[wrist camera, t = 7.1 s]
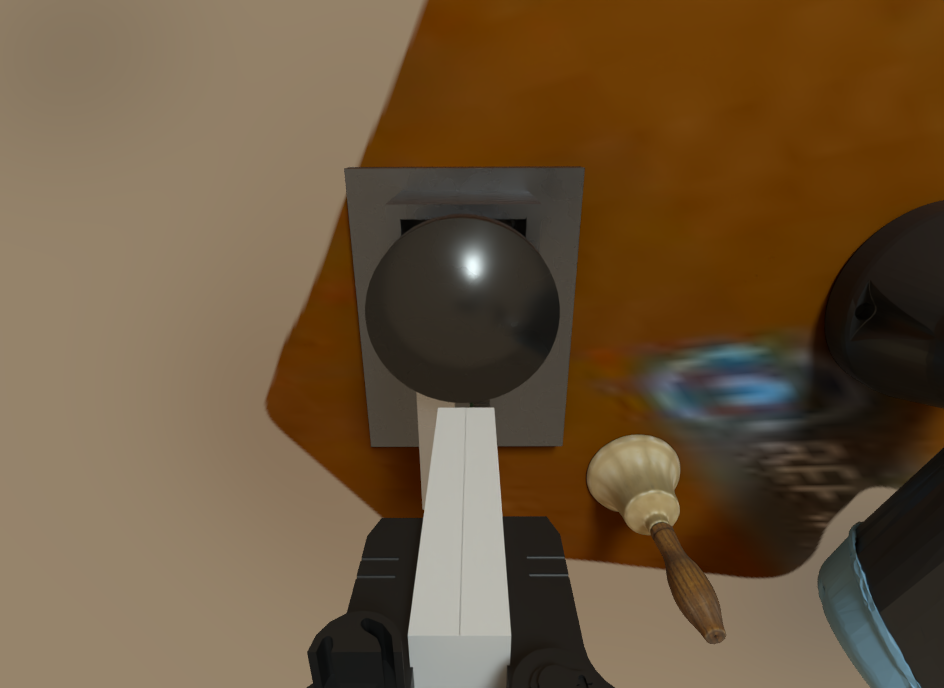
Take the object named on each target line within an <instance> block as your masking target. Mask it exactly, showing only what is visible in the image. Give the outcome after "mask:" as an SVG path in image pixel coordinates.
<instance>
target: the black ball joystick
mask: <svg viewBox="0 0 944 688" xmlns="http://www.w3.org/2000/svg"><path fill="white" fill-rule="evenodd" d="M365 320H366V326H367V331H368V335H369V338H370V341H371V344H372V346H373V348H374V350H375V352H376V354H377V356H378V357H379V359H380V360H381V362H382V363H383V364H384V366H385V367H386V368H387V369H388V371H389V372H390V373H391V374H392V375H393V376H395V377H396V378H397V379H398V380H399V381H400V382H402V383H403V384H404V385H406V386H407V387H409V388H410V389H412V390H414V391H416V394H417V413H418V432H419V451H420V470H421V489H422V508H423V510H425V502H426V495H427V487H428V480H429V472H430V465H431V457H432V450H433V442H434V435H435V427H436V420H437V412H438V408H455V403H473V402H480V401H486V400H490V399H493V398H496V397H499V396H501V395H504V394H506V393H508V392H510V391H512V390H514V389H515V388H517V387H519V386H520V385H521V384H523V383H524V382H525V381H527V380H528V379H529V378H530V377H531V376H532V375H533V374H534V373H535V372H536V371H537V370H538V369H539V368H540V366H541V365H542V364H543V363H544V361H545V360H546V358H547V356H548V355H549V353H550V351H551V349H552V346H553V344H554V342H555V339H556V335H557V332H558V327H559V320H560V303H559V296H558V291H557V288H556V284H555V281H554V279H553V277H552V274H551V272H550V270H549V268H548V266H547V265H546V263H545V261H544V260H543V258H542V257H541V255H540V253H539V252H538V251H537V249H536V248H535V247H534V246H533V245H532V243H531V242H530V241H529V240H527V239H526V238H525V237H524V236H523V235H522V234H521V233H519V232H518V231H516V230H515V229H513V228H512V227H510V226H508V225H506V224H504V223H502V222H500V221H498V220H495V219H492V218H489V217H485V216H480V215H475V214H450V215H445V216H440V217H436V218H433V219H430V220H427V221H424V222H422V223H420V224H419V225H417V226H415V227H413V228H411V229H410V230H409V231H407V232H406V233H404V234H403V235H402V236H401V237H400V238H399V239H398V240H396V241H395V242H394V243H393V245H392V246H391V247H390V248H389V250H388V251H387V252H386V253H385V255H384V256H383V258H382V259H381V261H380V262H379V264H378V266H377V267H376V269H375V271H374V273H373V275H372V278H371V280H370V282H369V286H368V290H367V294H366V302H365Z"/></svg>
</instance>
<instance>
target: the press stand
mask: <svg viewBox="0 0 944 688" xmlns="http://www.w3.org/2000/svg"><path fill="white" fill-rule="evenodd" d="M584 170H585V168H583V167H349V168H345V169H344V172H345V182H346V192H347V203H348V213H349V223H350V233H351V244H352V254H353V264H354V275H355V285H356V295H357V305H358V316H359V326H360V336H361V347H362V357H363V367H364V377H365V388H366V398H367V408H368V419H369V429H370V439H371V447H419V432H418V413H417V394H416V391H414V390H412V389H410V388H409V387H407V386H406V385H404V384H403V383H402V382H400V381H399V380H398V379H397V378H396V377H395V376H393V375H392V374H391V373H390V372H389V371H388V369H387V368H386V367H385V366H384V364H383V363H382V362H381V360H380V359H379V357H378V356H377V354H376V352H375V350H374V348H373V346H372V344H371V341H370V338H369V335H368V331H367V326H366V320H365V302H366V294H367V290H368V286H369V282H370V280H371V278H372V275H373V273H374V271H375V269H376V267H377V266H378V264H379V262H380V261H381V259H382V258H383V256H384V255H385V253H386V252H387V251H388V250H389V248H390V247H391V246H392V245H393V243H394V242H395V241H396V240H398V239H399V238H400V237H401V236H402V235H403V234H404V233H406V232H407V231H409V230H410V229H411V228H413V227H415V226H417V225H419V224H420V223H422V222H424V221H427V220H430V219H433V218H436V217H440V216H445V215H450V214H475V215H480V216H485V217H489V218H492V219H495V220H498V221H500V222H502V223H504V224H506V225H508V226H510V227H512V228H513V229H515V230H516V231H518V232H519V233H521V234H522V235H523V236H524V237H525V238H526V239H527V240H529V241H530V242H531V243H532V245H533V246H534V247H535V248H536V249H537V251H538V252H539V253H540V255H541V257H542V258H543V260H544V261H545V263H546V265H547V266H548V268H549V270H550V272H551V274H552V277H553V279H554V281H555V284H556V288H557V291H558V296H559V303H560V320H559V327H558V332H557V335H556V339H555V342H554V344H553V346H552V349H551V351H550V353H549V355H548V356H547V358H546V360H545V361H544V363H543V364H542V365H541V366H540V368H539V369H538V370H537V371H536V372H535V373H534V374H533V375H532V376H531V377H530V378H529V379H528V380H527V381H525V382H524V383H523V384H521V385H520V386H519V387H517V388H515V389H514V390H512V391H510V392H508V393H506V394H504V395H501V396H499V397H496V398H493V399H490V400H486V401H480V402H473V403H455V408H494V411H495V425H496V438H497V446H562V444H563V431H564V419H565V406H566V394H567V382H568V369H569V357H570V344H571V332H572V319H573V307H574V294H575V282H576V269H577V257H578V245H579V232H580V220H581V207H582V195H583V182H584Z"/></svg>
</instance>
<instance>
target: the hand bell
mask: <svg viewBox="0 0 944 688" xmlns="http://www.w3.org/2000/svg"><path fill="white" fill-rule="evenodd" d="M679 476H680V462H679V459H678V456H677V454H676V453H675V451H674V450H673V449H672V448H671V446H670V445H668V444H667V443H666V442H664V441H663V440H661V439H659V438H656V437H653V436H649V435H629V436H624V437H621V438H618V439H616V440H613V441H612V442H610V443H608V444H607V445H605V446H604V447H603V448H601V449H600V450H599V451H598V452H597V453H596V455H595V456H594V457H593V459H592V460H591V462H590V464H589V467H588V471H587V485H588V488H589V491H590V492H591V494H592V496H593V497H594V498H595V499H596V500H597V501H598V502H599V503H600V504H602V505H603V506H605V507H607V508H609V509H611V510H614V511H617V512H619V513H620V514H621V516H622V517H623V519H624V520H625V522H626V524H627V525H628V526H629V527H630V528H631V529H632V530H633V531H635V532H637V533H640V534H643V535H651V536H652V538H653V540H654V541H655V543H656V545H657V547H658V549H659V550H660V552H661V554H662V556H663V558H664V561H665V565H666V573H667V580H668V583H669V587H670V589H671V592H672V595H673V597H674V600H675V602H676V604H677V605H678V607H679V609H680V610H681V612H682V613H683V614H684V616H685V617H686V618H687V619H688V621H689V622H690V623H691V624H692V625H693V626H694V627H695V628H696V629H697V630H698V631H699V632H700V633H701V635H702V636H703V637H704V639H705V640H706V641H707V642H708V643H710V644H716V643H720V642H722V641H723V640H724V639H725V637H726V633H725V630H724V627H723V622H722V616H721V609H720V604H719V601H718V598H717V596H716V593H715V591H714V589H713V587H712V585H711V583H710V582H709V580H708V579H707V577H706V575H705V574H704V573H703V571H702V570H701V569H700V568H699V566H698V565H697V564H696V563H695V562H694V561H693V560H692V559H690V558H689V557H688V556H687V554H686V553H685V552H684V550H683V549H682V547H681V545H680V543H679V541H678V538H677V536H676V534H675V533H674V530H673V528H672V526H673V525H674V524H675V522H676V521H677V519H678V516H679V503H678V501H677V498H676V495H675V492H674V489H675V488H676V486H677V483H678V481H679Z"/></svg>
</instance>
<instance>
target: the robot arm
mask: <svg viewBox="0 0 944 688" xmlns="http://www.w3.org/2000/svg"><path fill="white" fill-rule="evenodd" d="M825 334H826V340H827V344H828V347H829V350H830V352H831V354H832V356H833V358H834V359H835V361H836V362H837V364H838V365H839V366H840V367H841V368H842V369H843V370H844V371H845V372H847V373H848V374H849V375H851V376H852V377H854V378H855V379H857V380H858V381H860V382H862V383H863V384H865V385H866V386H868V387H870V388H871V389H873V390H875V391H877V392H880V393H882V394H885V395H888V396H891V397H895V398H899V399H904V400H908V401H913V402H917V403H921V404H926V405H930V406H935V407H939V408H943V409H944V200H943V201H938V202H934V203H931V204H927V205H924V206H922V207H919V208H916V209H914V210H912V211H910V212H908V213H906V214H904V215H902V216H900V217H898V218H896V219H895V220H893V221H892V222H890V223H888V224H887V225H885V226H884V227H883V228H881V229H880V230H879V231H877V232H876V233H875V234H874V235H873V236H871V237H870V238H869V239H868V240H867V241H866V242H865V243H864V244H863V245H862V246H861V247H860V248H859V249H858V250H857V251H856V253H855V254H854V255H853V256H852V257H851V259H850V260H849V261H848V263H847V264H846V265H845V267H844V268H843V270H842V272H841V273H840V275H839V277H838V279H837V280H836V282H835V285H834V287H833V289H832V292H831V294H830V297H829V300H828V304H827V309H826V315H825ZM818 590H819V597H820V599H821V602H822V605H823V610H824V613H825V616H826V618H827V620H828V622H829V624H830V627H831V629H832V630H833V632H834V634H835V636H836V638H837V640H838V641H839V643H840V645H841V646H842V648H843V649H844V651H845V653H846V654H847V656H848V657H849V659H850V660H851V662H852V663H853V665H854V666H855V667H856V669H857V670H858V672H859V673H860V674H861V676H862V677H863V678H864V680H865V681H866V682H867V684H868V685H869V686H870V688H944V448H943V449H942V450H941V451H940V452H938V453H937V454H936V455H935V456H934V457H933V458H932V459H931V460H930V461H929V462H928V463H927V464H925V465H924V466H923V467H922V468H921V469H920V470H919V471H918V472H917V473H916V474H915V475H914V476H913V477H911V478H910V479H909V480H908V481H907V482H906V483H905V484H904V485H903V486H902V487H901V488H900V489H898V490H897V491H896V492H895V493H894V494H893V495H892V496H891V497H890V498H889V499H888V500H887V501H885V502H884V503H883V504H882V505H881V506H880V507H879V508H878V509H877V510H876V511H875V512H874V513H873V514H872V515H870V516H869V517H868V518H867V519H866V520H865V521H864V522H858V523H856V524H855V525H853V527H852V528H851V529H850V531H849V536H848V538H847V539H845V541H844V542H843V543H842V544H841V545H840V546H839V547H838V548H837V549H836V550H835V551H834V552H833V553H832V554H831V555H830V557H828V558H827V559H826V561H825V562H824V563H823V565H822V566H821V569H820V571H819V576H818ZM307 653H308V659H309V664H310V669H311V674H312V680H313V684H311V685H310V686H308V687H307V688H615V687H613V686H612V685H610V684H609V683H608V682H606V681H605V680H604V679H603V678H602V677H601V675H600V674H599V673H598V672H597V671H596V670H595V668H594V667H593V665H592V664H591V662H590V660H589V659H588V656H587V653H586V650H585V648H584V644H583V639H582V635H581V630H580V625H579V621H578V616H577V612H576V607H575V602H574V597H573V593H572V588H571V584H570V579H569V577H568V570H567V565H566V560H565V558H564V551H563V546H562V542H561V537H560V534H559V533H558V531H557V530H556V529H555V527H554V526H553V525H552V523H551V522H550V521H549V519H548V518H547V517H502V505H501V492H500V479H499V465H498V452H497V438H496V425H495V411H494V408H438V412H437V420H436V427H435V435H434V442H433V450H432V457H431V465H430V472H429V480H428V487H427V495H426V502H425V510H424V517H423V518H382V519H381V520H380V521H379V522H378V524H377V525H376V526H375V527H374V529H373V530H372V531H371V532H370V533H369V535H368V536H367V539H366V543H365V547H364V551H363V554H362V561H361V562H360V566H359V569H358V573H357V579H356V581H355V584H354V588H353V592H352V596H351V599H350V603H349V607H348V611H347V613H346V614H344V615H343V616H341V617H339V618H337V619H335V620H333V621H331V622H329V623H328V624H327V626H325V627H324V628H323V629H322V630H321V631H320V632H319V633H318V634H317V635H316V636H315V638H314V640H313V642H312V644H311V646H310V648H309V650H308V652H307Z"/></svg>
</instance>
